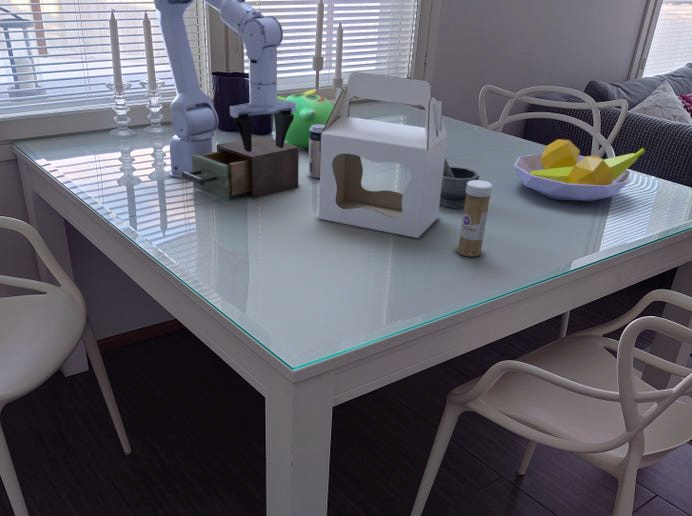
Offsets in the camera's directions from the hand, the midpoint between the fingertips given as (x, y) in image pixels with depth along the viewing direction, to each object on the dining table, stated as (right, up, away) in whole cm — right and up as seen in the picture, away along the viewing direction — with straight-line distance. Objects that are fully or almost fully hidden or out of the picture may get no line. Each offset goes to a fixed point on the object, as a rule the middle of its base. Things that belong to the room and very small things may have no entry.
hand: (263, 148), depth 150 cm
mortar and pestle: (+41, -11, +6) cm, 43 cm away
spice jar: (+11, -1, +19) cm, 22 cm away
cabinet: (-2, -5, +11) cm, 12 cm away
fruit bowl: (+72, -6, +15) cm, 74 cm away
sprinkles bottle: (+41, -26, -19) cm, 52 cm away
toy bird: (+7, +13, +42) cm, 44 cm away
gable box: (+25, -16, -5) cm, 30 cm away
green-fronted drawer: (-9, -8, +4) cm, 13 cm away
